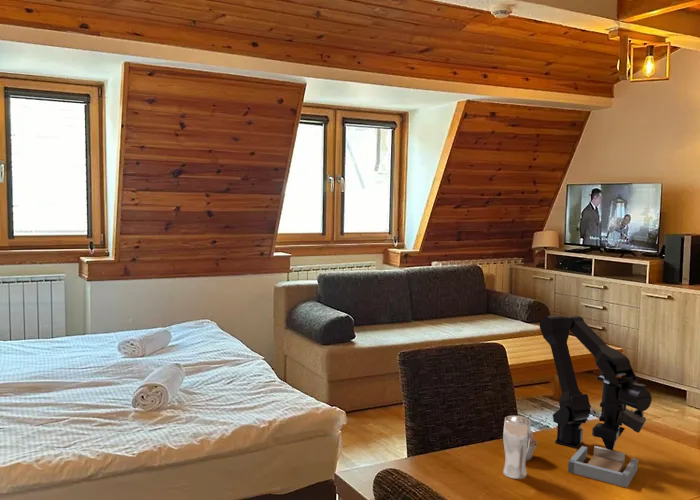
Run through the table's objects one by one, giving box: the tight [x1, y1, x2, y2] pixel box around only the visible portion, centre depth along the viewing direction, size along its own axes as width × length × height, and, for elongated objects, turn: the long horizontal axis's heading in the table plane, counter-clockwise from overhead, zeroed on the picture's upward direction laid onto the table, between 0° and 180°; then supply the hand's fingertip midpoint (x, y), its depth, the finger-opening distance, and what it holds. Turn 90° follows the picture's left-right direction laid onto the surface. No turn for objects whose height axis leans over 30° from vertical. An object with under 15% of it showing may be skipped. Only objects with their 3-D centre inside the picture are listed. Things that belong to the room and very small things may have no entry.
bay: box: [567, 445, 639, 488], centre depth 171 cm, size 15×14×3 cm
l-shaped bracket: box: [587, 445, 626, 473], centre depth 172 cm, size 8×10×4 cm
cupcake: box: [526, 429, 538, 462], centre depth 179 cm, size 9×9×10 cm
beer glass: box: [502, 415, 531, 480], centre depth 167 cm, size 7×7×15 cm
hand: (610, 453), depth 177 cm, fingers closed
